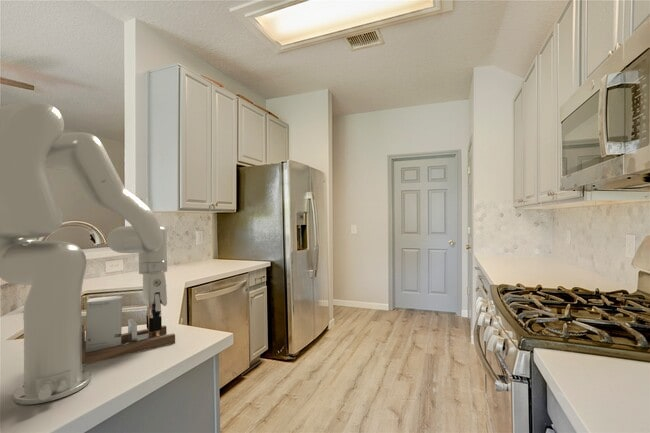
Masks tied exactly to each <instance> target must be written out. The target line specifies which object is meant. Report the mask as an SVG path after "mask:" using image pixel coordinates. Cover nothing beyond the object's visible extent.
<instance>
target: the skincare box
mask: <svg viewBox="0 0 650 433" xmlns="http://www.w3.org/2000/svg"><path fill="white" fill-rule="evenodd" d="M122 323H123V296H122V295H116V296H115V295H114V296H102V297H100V296H99V297H93V298H92V297H90V298H88V299H87V301H86V312H85V353H86V352H90V351H95V350H100V349H104V348H109V347H113V346H118V345H122V344H121V334H122V330H123V327H122V326H123V324H122Z"/></svg>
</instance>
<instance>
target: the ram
mask: <svg viewBox="0 0 650 433" xmlns="http://www.w3.org/2000/svg"><path fill="white" fill-rule="evenodd" d="M152 307H155V305H152ZM153 310H155V309H153ZM149 318H150V308H149V307H148V333H147V334H142V335H138V336H137V331H138V323H137V322H136V321H135V320H134V319H133V318H129V319H127V326H128V327H127V333H128V343H132V342H136V341H141V340H146V339H150V338H155V337H159V334H160V330H159V331H154V332H150V331H149Z"/></svg>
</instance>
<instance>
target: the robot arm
mask: <svg viewBox="0 0 650 433" xmlns="http://www.w3.org/2000/svg"><path fill="white" fill-rule="evenodd" d="M64 129H65V122H64V117H63V115H62V113H61V112H60V110H59V109H58V108H56V107H55V106H53V105H51V104H49V103H47V102H43V101H25V102H19V103H18V102H17V103H12V104H7V105H0V279H1V280H2V281H4V282H5V283H9V284H13V285H25V286H31V287H30V289H29V291H28V294H27V296H26V298H25V301H24V304H23V305H24V306H23V315H22V317H23V385H22V386H20V387H18V388H17V389H16V390H15V392H14V393H13V401H14V402H15V403H17V404H19V405H37V404H44V403H48V402H53V401H56V400H59V399H62V398H64V397H65V398H66V397H68V396H70V395H72V394H74V393H76V392H79V391H81V390H82V389H84V388H85V387H86V386H87V385H89V383H91V379H92V377H91V376H92V375H91V372H89V371H87V370H83V365H82V322H83V321H82V320H83V319H82V318H83V317H82V295H83V293H82V292H83V284H84V278H85V274H86V269H87V256H86V253H85V252H84V251H83V249H82V247H80V246H78V244H76V243H72V242H70V241H64V240H38V238H45V237H49V236H51V235H53V234H56V233H57V232H58V231H59V230H60V229H61V228H62V225H63V222H64V220H63V219H64V218H63V213H62V209H61V207H60V204H59V202H58V199H57V196H56V193H55V190H54V188H53V184H52V183H51V180H50V179H51V178H50V176H49V173H48V169H50V170H55V171H65V170H70V172H71V174H72V175H73V177H74V179H75V181H76V182H77V183H78V184H79V186H80V188H81V191H82V192H83V193H84V195H85V197H86V199H87V200H88V202H90V203H91V204H93V205H95V206H97V207H99V208H102V209H103V210H106V211H109V212H110V213H111V212H112V213H114V214H116V215H118V216H120V217H121V218H122V219H124V220H125V221H127V222H128V223H129V224H130V225H128V226H127V225H125V226H119V227H116V228H114V229H113V230H111V231H110V232H108V233H109V234H108V235H107V237H106V238H107V239H106V243H107V245H108V246H107V247H109V248H110V249H111V250H112V251H114V252H116V253H118V254H119V253H120V254H138V274H139V275H142V299H143V304H144V305H145V306H146V315H145V316H146V329H148V307H149V308H150V318H149V331H150V332H154V331H159V330H161V329H162V326H163V325H162V322H163V321H162V319H163V318H162V306H163V307H166V306H167V305H168V296H167V295H168V294H167V282H166V281H167V280H166V273H167V272H168V242H167V240H168V239H167V238H168V235H167V228H166V227H165V226H160V223H159V221H158V218H157V217H156V215H155V213H154V212H153V210H152V209H151V208H150V207H149V206H148V205H147V204H146V203H145V202H143V200H141V199H140V198H139V197H137V196H136V195H135V194H134V193H132V192H131V191H130V190H128V189H127V188H126V187H125V185H124V183H123V181H122V180H121V178H120V175H119V174H118V172H117V170H116V168H115V166H114V164H113V163H112V160H111V158H110V156H109V155H108V152H107V150H106V149H105V146H104V145H103V143H102V141H101V140H100V139H99V138H98V137H97V136H96V135H94V134H92V133H89V132H80V131H79V132H67V133H66V132H65V133H63V132H64ZM152 305H155V307H152ZM153 309H155V310H153Z"/></svg>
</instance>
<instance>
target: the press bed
mask: <svg viewBox="0 0 650 433" xmlns="http://www.w3.org/2000/svg"><path fill="white" fill-rule="evenodd" d="M84 326H85V325H84V323H83V321H82V366H84V365H88V364H92V363H96V362H100V361H106V360H109V359H114V358H118V357H123V356H126V355H130V354H134V353H139V352H143V351H146V350H147V351H148V350H151V349H155V348H160V347H165V346H169V345H173V344H176V334H175V333H170V334H167V331H168V330H167V325H162V329H161V330H160V334H159V337H155V338H150V339H146V340H141V341H136V342H132V343H128V332H124V333H121V345H118V346H113V347H109V348H104V349H100V350H95V351H90V352H86V353H85V338H86V329H85V327H84ZM147 333H148V329H147V328H144V329H141V330H137V336H138V335H142V334H147Z"/></svg>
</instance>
